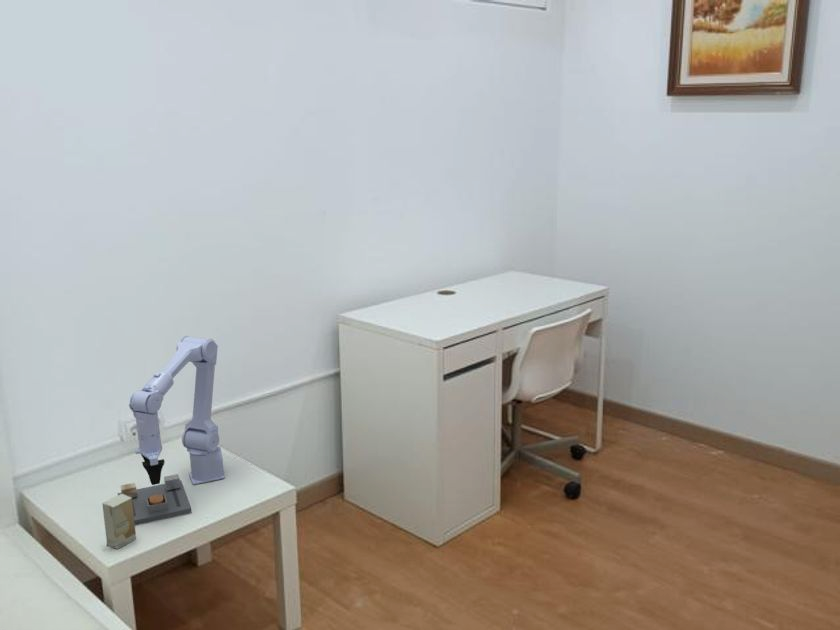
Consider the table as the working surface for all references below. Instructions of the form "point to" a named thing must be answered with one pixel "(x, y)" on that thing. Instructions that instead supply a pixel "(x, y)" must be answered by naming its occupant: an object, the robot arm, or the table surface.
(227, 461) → the table surface
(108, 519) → the skincare box
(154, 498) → the push button
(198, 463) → the robot arm
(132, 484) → the birch slider
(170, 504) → the control panel
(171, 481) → the steel slider
